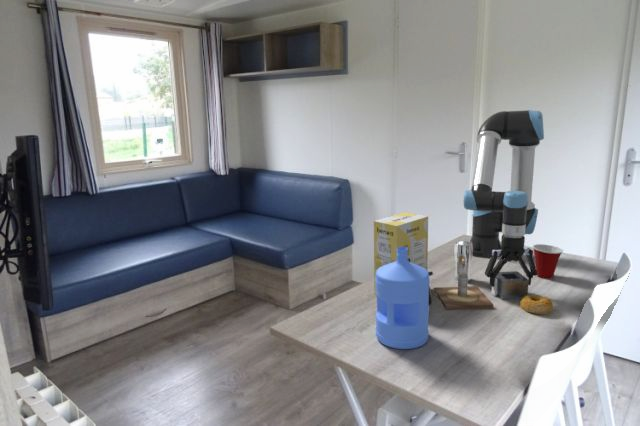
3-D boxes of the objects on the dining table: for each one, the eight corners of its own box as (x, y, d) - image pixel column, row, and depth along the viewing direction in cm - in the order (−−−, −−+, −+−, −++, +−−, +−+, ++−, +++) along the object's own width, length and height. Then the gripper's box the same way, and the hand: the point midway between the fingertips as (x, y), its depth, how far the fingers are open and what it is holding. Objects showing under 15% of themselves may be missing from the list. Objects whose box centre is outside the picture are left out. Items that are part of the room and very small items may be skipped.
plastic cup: (566, 280, 171) (569, 251, 169) (537, 281, 172) (540, 252, 169) (552, 270, 182) (555, 242, 179) (525, 271, 182) (527, 243, 179)
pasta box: (404, 280, 178) (405, 212, 172) (426, 287, 170) (428, 216, 164) (374, 293, 166) (373, 221, 160) (396, 301, 159) (396, 226, 152)
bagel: (548, 303, 154) (549, 290, 152) (555, 317, 143) (556, 304, 142) (517, 301, 156) (518, 288, 155) (522, 315, 146) (523, 302, 145)
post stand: (434, 291, 166) (434, 265, 164) (476, 289, 166) (478, 263, 164) (445, 310, 151) (446, 281, 148) (493, 308, 151) (494, 280, 148)
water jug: (392, 320, 145) (392, 237, 139) (437, 334, 135) (439, 246, 129) (365, 340, 133) (364, 251, 127) (412, 356, 124) (414, 261, 117)
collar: (492, 289, 166) (493, 272, 164) (516, 289, 166) (517, 271, 164) (501, 299, 157) (502, 281, 155) (527, 299, 157) (528, 280, 155)
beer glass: (469, 275, 180) (470, 240, 177) (473, 282, 173) (475, 245, 170) (451, 275, 181) (452, 240, 177) (455, 282, 174) (456, 245, 171)
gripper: (484, 239, 153) (481, 299, 158) (551, 237, 152) (546, 297, 157) (476, 233, 160) (474, 290, 165) (540, 231, 160) (536, 288, 165)
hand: (509, 294), depth 161 cm, fingers open, 10 cm apart
